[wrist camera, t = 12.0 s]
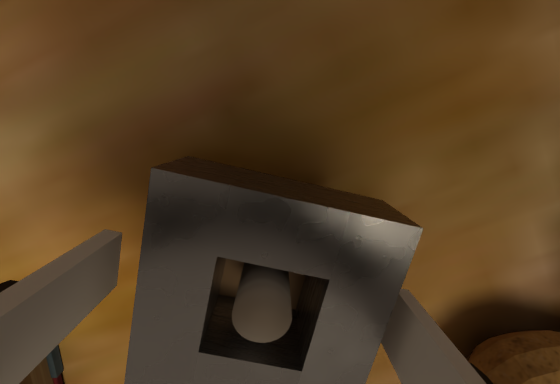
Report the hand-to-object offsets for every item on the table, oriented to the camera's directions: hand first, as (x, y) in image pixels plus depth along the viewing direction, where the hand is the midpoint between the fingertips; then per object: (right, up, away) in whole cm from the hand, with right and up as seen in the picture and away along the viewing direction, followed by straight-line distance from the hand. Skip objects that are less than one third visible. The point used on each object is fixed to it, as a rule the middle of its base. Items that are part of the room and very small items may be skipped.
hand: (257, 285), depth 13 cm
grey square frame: (0, 0, +2) cm, 2 cm away
